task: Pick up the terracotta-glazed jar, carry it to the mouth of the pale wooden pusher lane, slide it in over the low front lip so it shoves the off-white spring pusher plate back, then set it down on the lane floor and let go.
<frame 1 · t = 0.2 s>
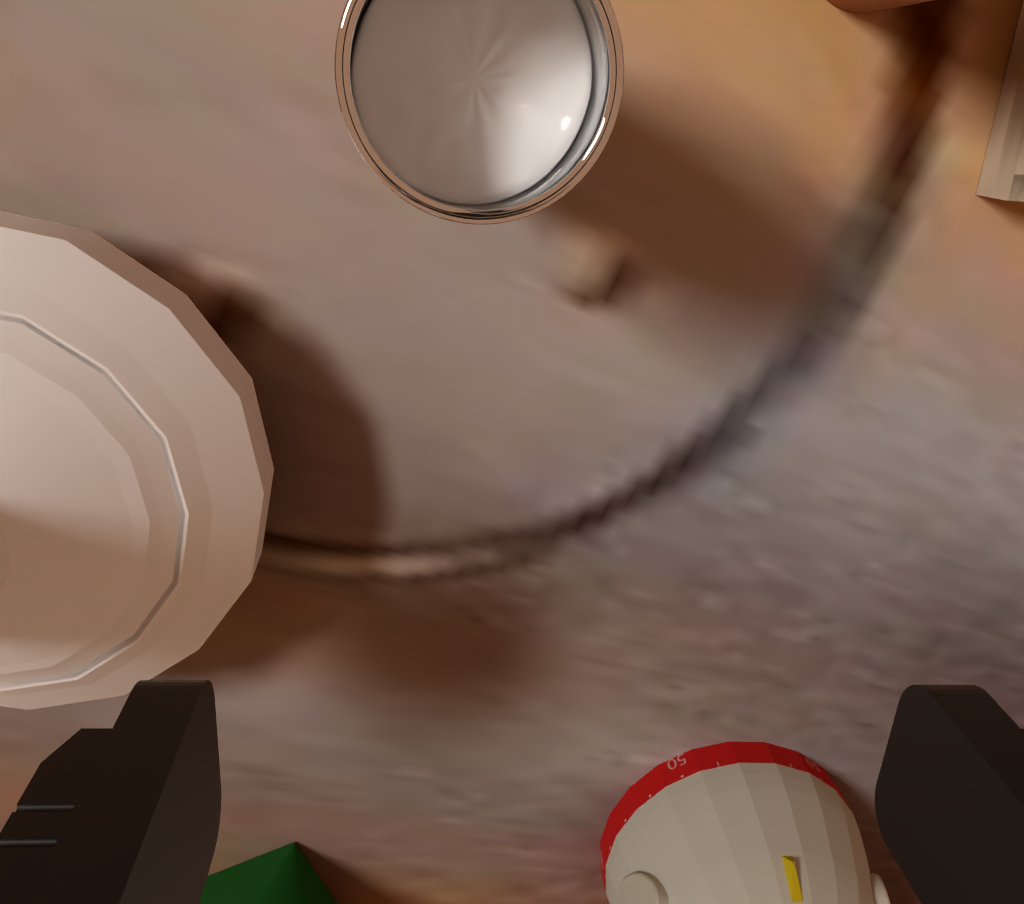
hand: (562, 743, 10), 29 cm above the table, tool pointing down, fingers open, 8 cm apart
beer glass: (461, 82, 34), on the table
kitchen timer: (722, 838, 50), on the table
white vase: (48, 437, 38), on the table
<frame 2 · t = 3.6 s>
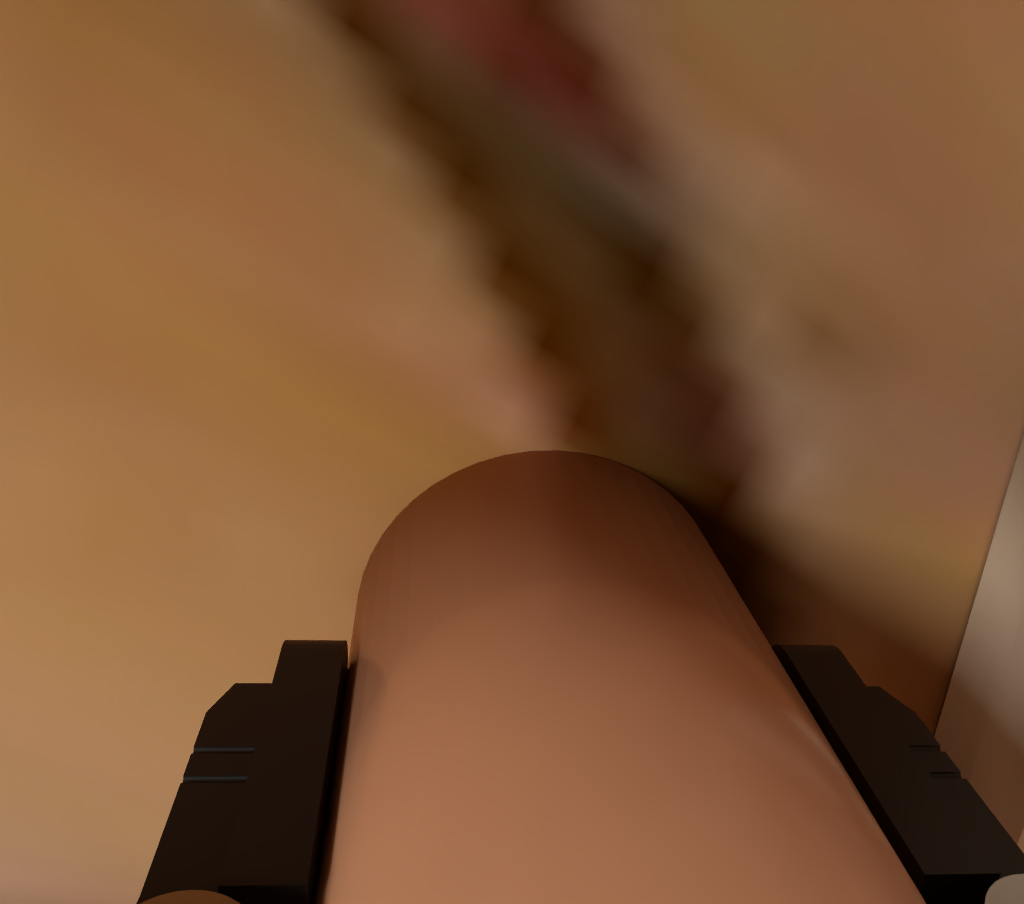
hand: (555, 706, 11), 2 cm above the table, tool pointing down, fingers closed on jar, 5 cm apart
jar: (540, 618, 13), on the table, touching gripper
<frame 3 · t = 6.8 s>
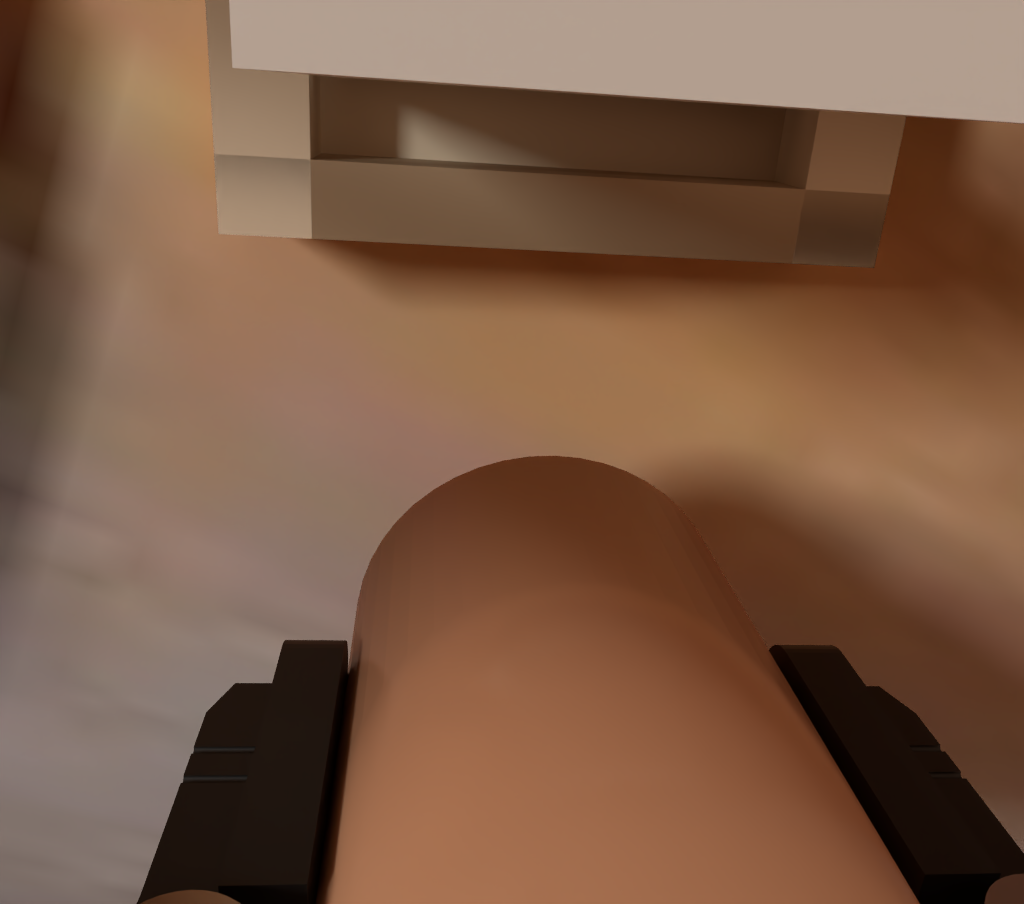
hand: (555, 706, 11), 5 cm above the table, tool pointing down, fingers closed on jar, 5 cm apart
jar: (539, 623, 13), point 4 cm above the table, touching gripper
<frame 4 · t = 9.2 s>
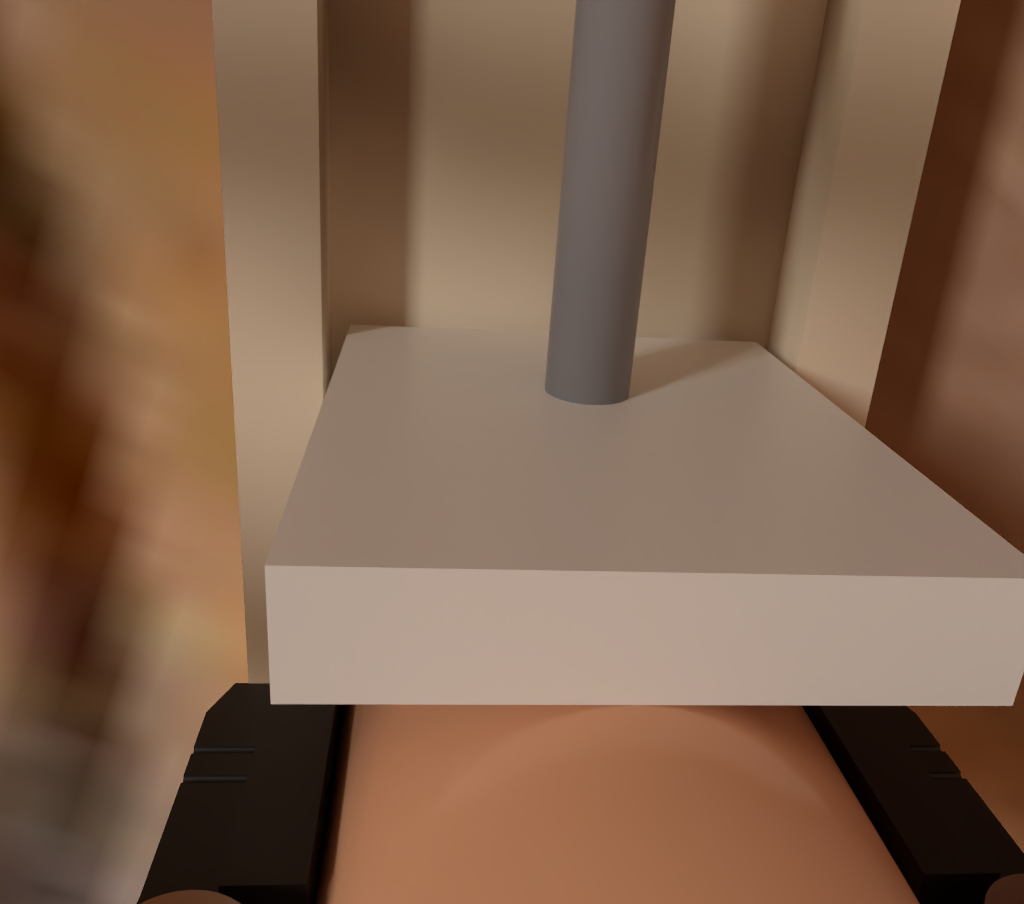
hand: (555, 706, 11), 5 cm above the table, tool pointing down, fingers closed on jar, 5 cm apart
lane: (565, 86, 13), on the table
jar: (539, 623, 13), point 3 cm above the table, touching gripper, pusher
when the fingers open (3 cm above the table, at t = 10.2 s): jar stays where it is, resting on lane, pusher.
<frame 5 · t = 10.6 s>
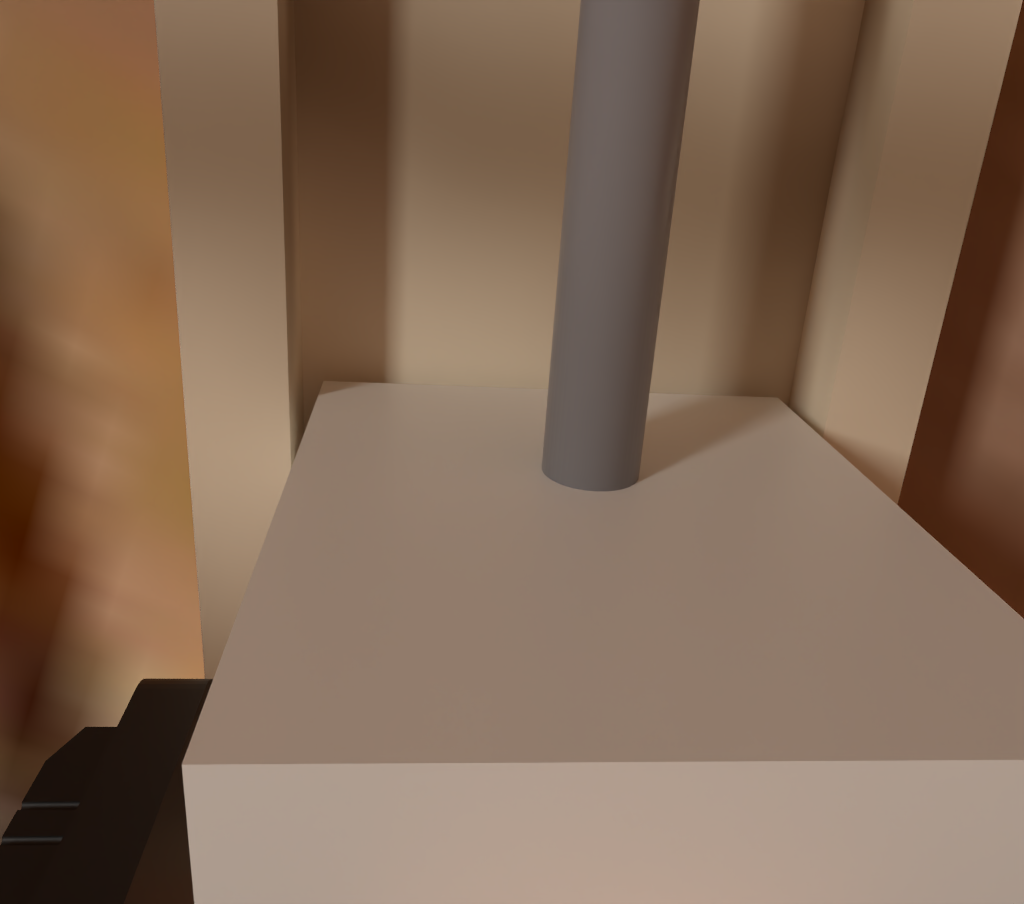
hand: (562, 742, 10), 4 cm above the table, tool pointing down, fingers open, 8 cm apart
lane: (566, 92, 12), on the table
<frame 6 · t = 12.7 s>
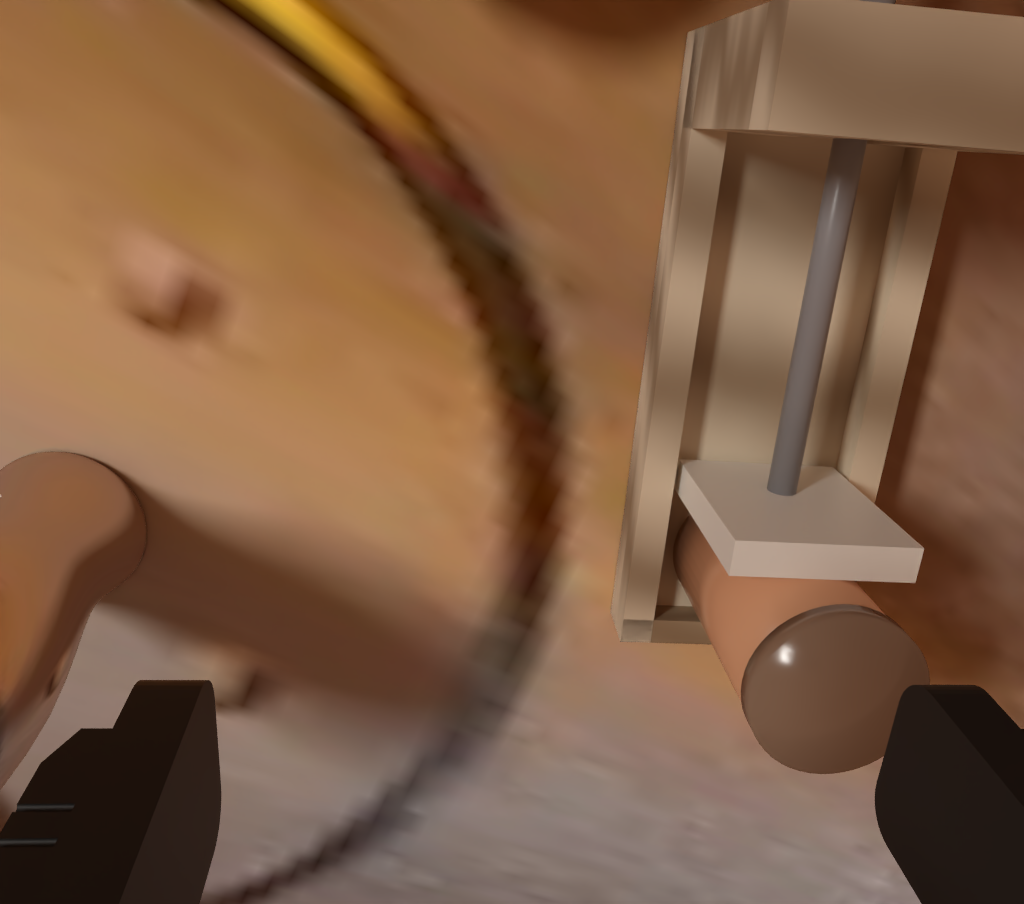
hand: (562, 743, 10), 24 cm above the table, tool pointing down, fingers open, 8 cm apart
pusher: (838, 256, 28), point 5 cm above the table, slide at 4.2 cm, touching jar
lane: (761, 362, 34), on the table
beer glass: (68, 522, 34), on the table
jar: (737, 549, 35), point 1 cm above the table, touching lane, pusher
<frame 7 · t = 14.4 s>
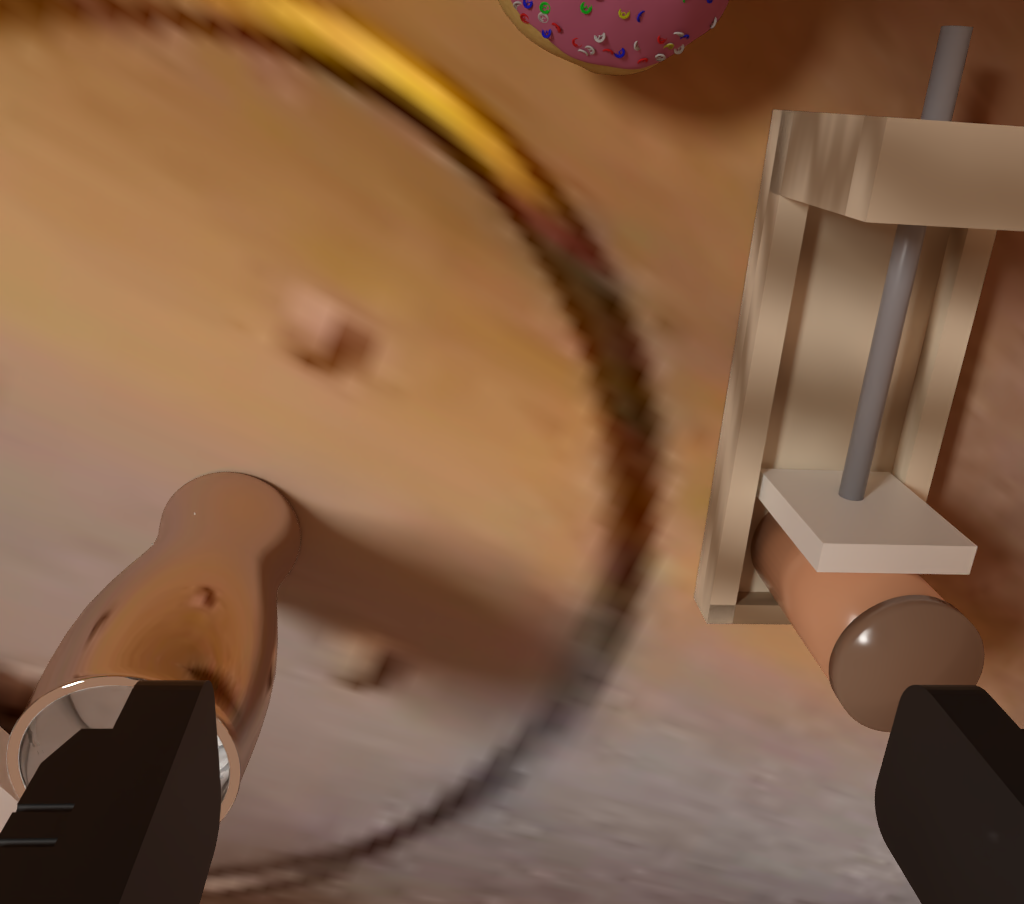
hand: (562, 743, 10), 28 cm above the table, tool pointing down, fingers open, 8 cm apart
pusher: (905, 304, 33), point 5 cm above the table, slide at 4.2 cm, touching jar
lane: (828, 383, 39), on the table
beer glass: (232, 531, 40), on the table
jar: (806, 543, 41), point 1 cm above the table, touching lane, pusher
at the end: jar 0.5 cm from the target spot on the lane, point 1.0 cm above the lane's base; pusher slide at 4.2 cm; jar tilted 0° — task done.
